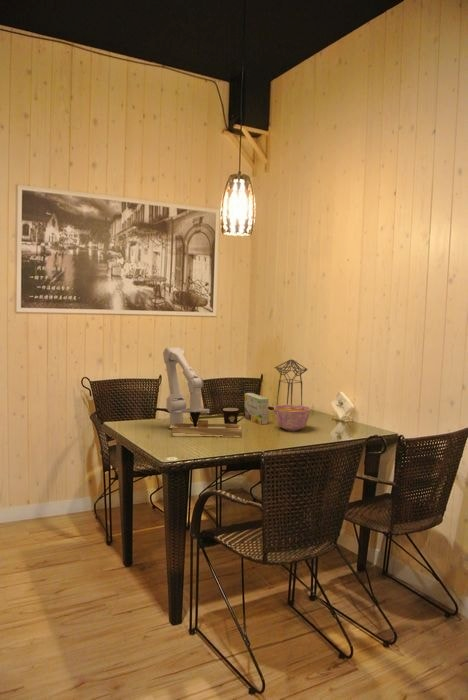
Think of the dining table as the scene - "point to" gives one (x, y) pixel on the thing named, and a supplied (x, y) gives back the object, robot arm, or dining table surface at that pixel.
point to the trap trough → (208, 429)
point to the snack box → (256, 408)
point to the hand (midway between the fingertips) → (195, 426)
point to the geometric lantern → (288, 376)
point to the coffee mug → (231, 415)
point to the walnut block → (202, 423)
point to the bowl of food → (292, 416)
